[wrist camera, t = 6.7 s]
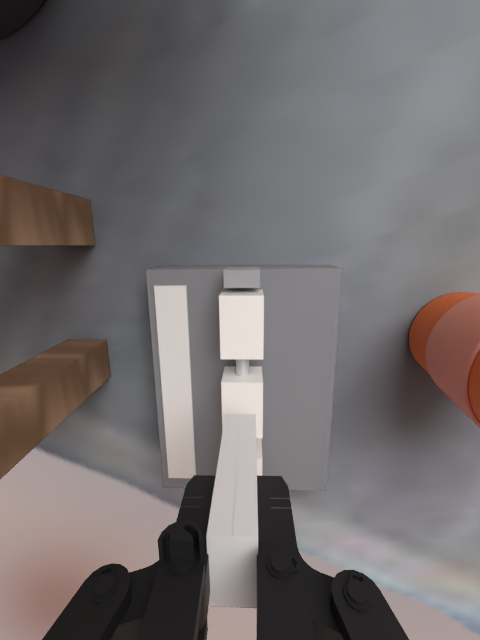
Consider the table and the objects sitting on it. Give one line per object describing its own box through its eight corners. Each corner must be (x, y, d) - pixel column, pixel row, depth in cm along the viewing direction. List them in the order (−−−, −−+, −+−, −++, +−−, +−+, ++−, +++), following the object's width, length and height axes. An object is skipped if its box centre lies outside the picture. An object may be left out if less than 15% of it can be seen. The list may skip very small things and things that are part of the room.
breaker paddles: (222, 289, 19) (218, 295, 16) (262, 289, 19) (263, 295, 16) (227, 478, 22) (224, 506, 20) (260, 479, 22) (261, 507, 19)
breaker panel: (159, 264, 22) (133, 270, 17) (329, 263, 21) (352, 268, 16) (173, 460, 26) (155, 511, 21) (318, 463, 25) (333, 515, 20)
